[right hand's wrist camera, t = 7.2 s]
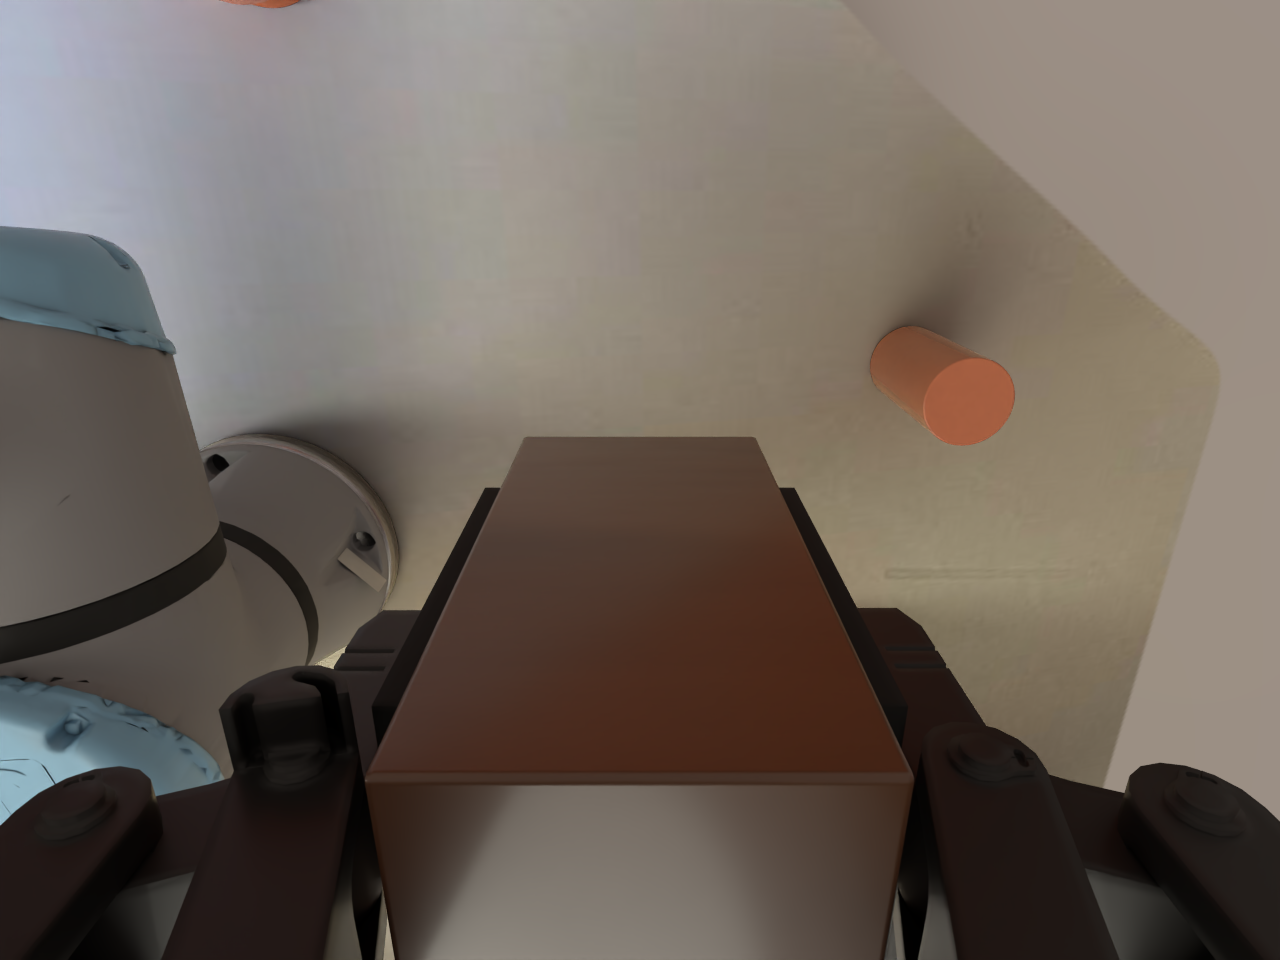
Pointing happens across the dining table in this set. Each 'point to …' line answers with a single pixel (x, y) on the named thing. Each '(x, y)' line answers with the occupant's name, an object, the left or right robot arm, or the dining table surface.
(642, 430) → the dining table surface
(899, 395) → the terracotta cylinder
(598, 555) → the walnut block
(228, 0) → the cup with straw
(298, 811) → the right robot arm
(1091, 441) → the dining table surface
